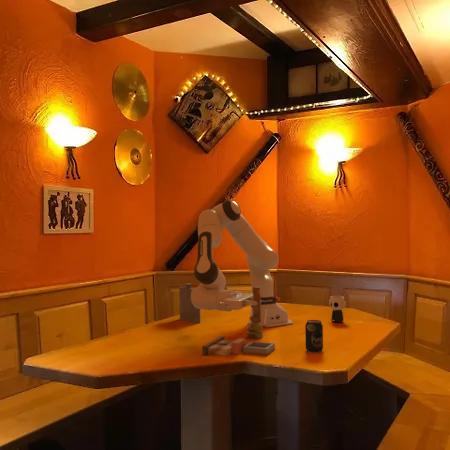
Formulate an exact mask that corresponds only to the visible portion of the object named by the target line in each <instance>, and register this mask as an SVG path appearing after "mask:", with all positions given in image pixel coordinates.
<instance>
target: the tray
mask: <svg viewBox="0 0 450 450" xmlns="http://www.w3.org/2000/svg"><path fill="white" fill-rule="evenodd" d="M275 344H276V343H274V342H266V341H265V342H264V341H253V340H252V341H250V342H248V343H247V344H245V346H244V347H243V352H242V353H243V354H249V355H250V354H251V355H257V356H258V355H259V356H269V355H270V354H271V353H272V352H273V351H274V350H275V349H276V345H275Z"/></svg>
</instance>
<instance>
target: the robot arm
mask: <svg viewBox="0 0 450 450" xmlns="http://www.w3.org/2000/svg"><path fill="white" fill-rule="evenodd" d="M197 223H198V224H197V235H198V239H197V258H196V259H197V260H196V262H195V265H194V268H193V275H194V277H195V279H196V280H197V281H198V282H199V283H200V284H198V286H197V287H195V288H194V290H192V292H191V302H192V304H193V306H194V307H195V308H198V309H200V310H204V311H215V310H216V311H218V312H232V311H233V310H236V311H239V310H240V311H241V310H242V309H244V308H246V307H250V316H252V315H253V305H254V306H256V305H257V304H258V301H255V300H253V287H260V305H261V322H259V324H260V326H262V327H266V328H271V327H278V326H280V327H281V326H288V325H293V324H294V323H293V320H291V319H289V314H288V311H287V310H286V309H284V307H282V306H281V305H279V304H278V303H277V302H279V301H280V300H281V297H278V296H275V295H274V280H273V278H272V276H271V273H270V272H271V271H270V270H273V269H274V268H276V267H278V264H279V262H280V258H279V255H278V253H277V252H276V251H275V250H274V249H273V248H272V247H271V246H269V244H268V243H267V242H266V241H265V240H264V239H262V237H261V236H260V235H259V234H258V233H257V232H256V231H255V229H254V228H253V227H252V225H251V224H250V223H249V221H248V220H247V219H246V218H245V216H244V215H243V214H242V213H241V208H240V205H239V204H238V203H237V202H236V201H235V200H232V199H226V200H224V201H222V203H219V204H217V205H215V206H214V207H212V208H210V209H205V210H203V211H201V213H200V214H199V217H198V222H197ZM223 229H226V230H227V232H228V234H229V235H230V236H231V238H232V239H233V241H234V242H235V243H236V244H237V246H238V247H239V248H240V249H241V250H242V251H243V252H245V253H246V254H245V260H246V262H247V266H248V271H249V275H250V285H251V287H250V288H251V292H245V291H239V290H238V289H236V290H235V289H234V290H233V289H226V286H227V278H226V277H225V275H224V274H223V272H222V270H221V269H220V268H219V267H218V265H217V263H216V262H215V261H214V258H213V255H214V254H213V250H214V249H216V248H218V247H219V246H220V245H221V244H222V242H223ZM250 316H249V317H250ZM251 323H252V321H251V320H250V319H249V320H248V325H250V324H251Z"/></svg>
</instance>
